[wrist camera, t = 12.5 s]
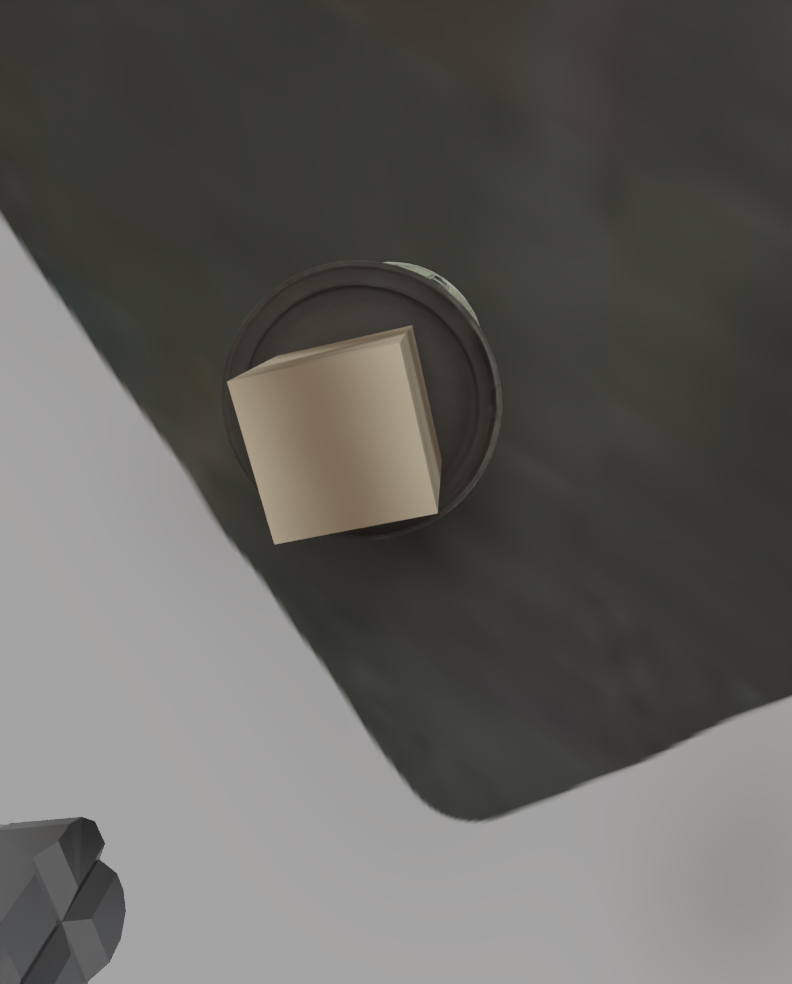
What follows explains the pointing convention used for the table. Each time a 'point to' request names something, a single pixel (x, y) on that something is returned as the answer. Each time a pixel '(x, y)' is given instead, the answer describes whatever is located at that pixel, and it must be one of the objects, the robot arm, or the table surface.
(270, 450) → the beech block
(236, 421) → the coffee can
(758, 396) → the table surface
